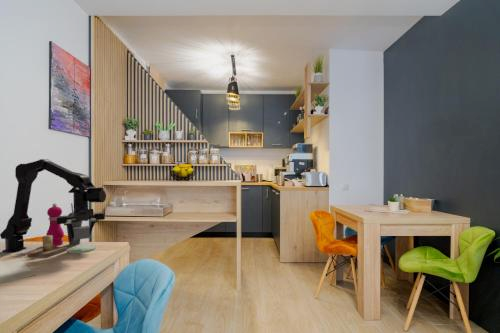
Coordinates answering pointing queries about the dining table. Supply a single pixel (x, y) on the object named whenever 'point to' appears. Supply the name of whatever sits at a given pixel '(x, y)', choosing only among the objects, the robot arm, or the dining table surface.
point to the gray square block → (81, 232)
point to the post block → (47, 248)
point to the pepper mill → (55, 225)
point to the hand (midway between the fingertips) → (81, 237)
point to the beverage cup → (74, 224)
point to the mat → (81, 249)
